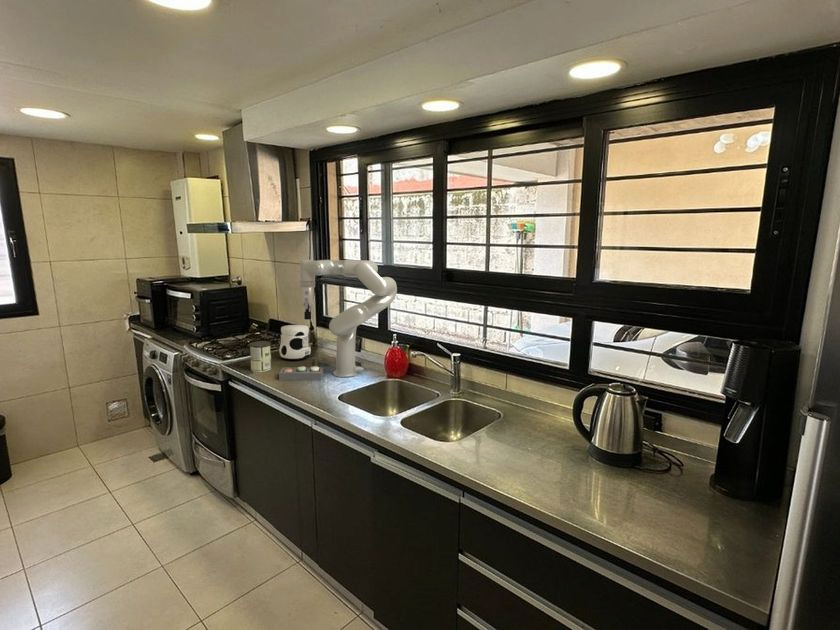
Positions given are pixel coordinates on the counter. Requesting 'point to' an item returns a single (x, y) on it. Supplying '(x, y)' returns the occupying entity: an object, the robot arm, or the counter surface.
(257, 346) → the coffee can
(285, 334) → the milk container
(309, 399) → the counter surface
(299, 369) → the green button
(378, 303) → the robot arm
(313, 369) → the cream button
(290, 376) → the button panel
